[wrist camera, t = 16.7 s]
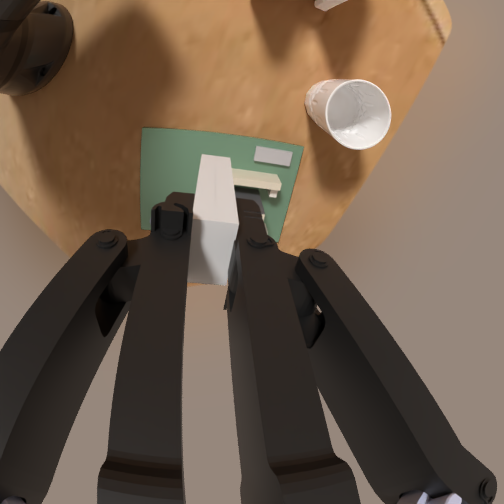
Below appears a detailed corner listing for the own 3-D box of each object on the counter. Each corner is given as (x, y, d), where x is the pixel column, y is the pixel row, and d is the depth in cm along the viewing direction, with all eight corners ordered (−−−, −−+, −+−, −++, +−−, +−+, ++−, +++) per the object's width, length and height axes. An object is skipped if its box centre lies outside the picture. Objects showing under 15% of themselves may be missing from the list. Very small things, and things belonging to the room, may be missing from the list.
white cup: (321, 65, 29) (353, 64, 21) (363, 100, 32) (402, 112, 24) (288, 108, 33) (310, 121, 25) (332, 140, 36) (363, 163, 28)
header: (208, 231, 42) (208, 244, 40) (217, 166, 36) (216, 175, 34) (262, 236, 44) (265, 249, 41) (277, 174, 38) (281, 183, 35)
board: (141, 227, 41) (137, 237, 39) (142, 127, 32) (137, 131, 30) (277, 240, 45) (280, 251, 43) (303, 146, 36) (308, 151, 34)
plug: (224, 222, 42) (225, 251, 36) (230, 186, 38) (232, 210, 32) (250, 225, 42) (255, 254, 37) (258, 189, 39) (265, 214, 33)
